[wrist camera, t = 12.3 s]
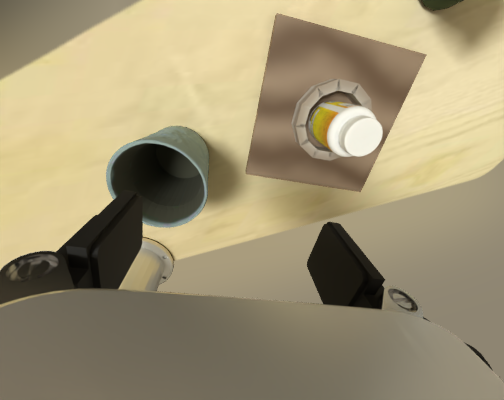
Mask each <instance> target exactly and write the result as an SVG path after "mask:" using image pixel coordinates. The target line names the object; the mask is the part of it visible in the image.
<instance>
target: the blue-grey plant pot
mask: <svg viewBox="0 0 504 400" xmlns="http://www.w3.org/2000/svg"><path fill="white" fill-rule="evenodd" d="M208 164H209V152H208V149H207V146H206V144H205V142H204V141H203V139H202V138H201V137H200V136H199V135H198V134H197V133H196V132H194V131H192V130H191V129H188V128H187V127H182V126H170V127H167V128H164V129H162V130H160V131H158V132H157V133H154V134H151V135H149V136H147V137H144V138H142V139H139V140H136V141H134V142H131V143H129V144H126V145H125V146H123V147H121V148H120V149H119V150H118V151H117V152H116V153H115V154H114V155H113V156H112V158H111V159H110V161H109V164H108V166H107V172H106V181H107V185H108V189H109V192H110V194H111V196H112V198H113V199H115V198H116V197H117V196H118V195H119V194H120V193H121V192H122V191H124V190H126V191H133V192H138V194H139V196H142V198H143V223H144V224H147V225H150V226H155V227H175V226H180V225H183V224H185V223H187V222H189V221H191V220H192V219H194V218H195V217H196V216H197V215H198V214H199V213H200V212H201V211H202V209H203V207H204V206H205V203H206V200H207V196H208V172H209V170H208V169H209V165H208Z"/></svg>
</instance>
